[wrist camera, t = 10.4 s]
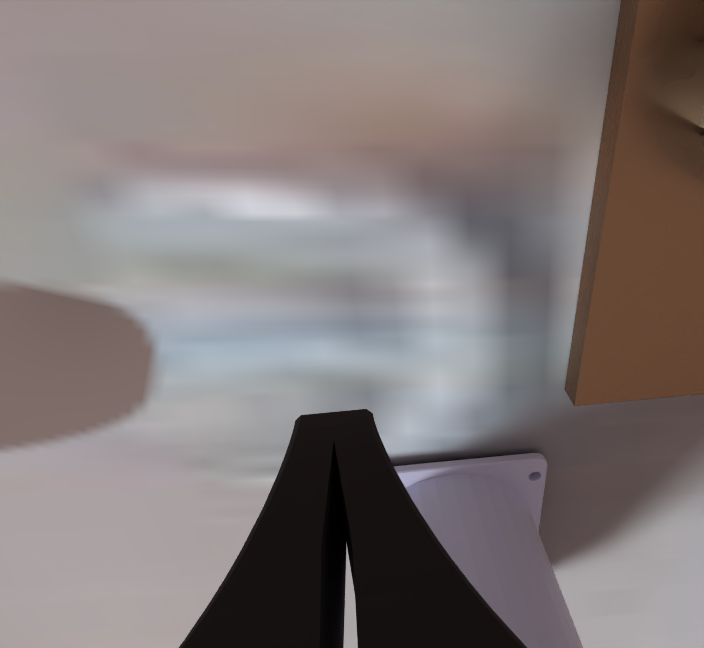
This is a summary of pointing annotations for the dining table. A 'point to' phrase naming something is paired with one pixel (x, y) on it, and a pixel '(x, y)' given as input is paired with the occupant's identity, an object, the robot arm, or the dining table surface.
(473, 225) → the dining table surface
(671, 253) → the peg hole base
